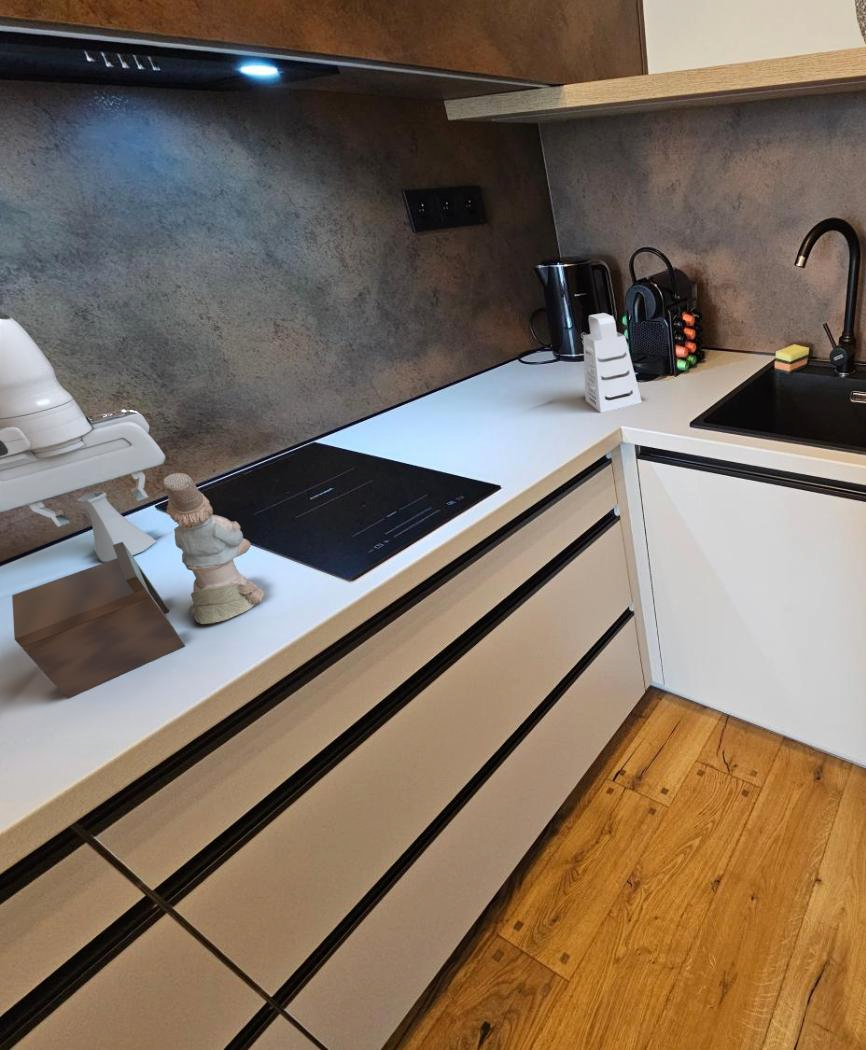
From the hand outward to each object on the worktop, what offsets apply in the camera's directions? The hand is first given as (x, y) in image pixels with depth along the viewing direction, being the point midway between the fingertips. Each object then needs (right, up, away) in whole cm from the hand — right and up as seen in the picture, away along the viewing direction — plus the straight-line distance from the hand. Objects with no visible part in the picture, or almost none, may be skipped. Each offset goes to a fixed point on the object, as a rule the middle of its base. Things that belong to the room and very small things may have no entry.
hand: (104, 510), depth 90 cm
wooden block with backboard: (+20, -18, -17) cm, 32 cm away
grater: (+71, +27, +51) cm, 92 cm away
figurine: (+29, -13, -11) cm, 34 cm away
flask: (0, -6, +4) cm, 8 cm away
